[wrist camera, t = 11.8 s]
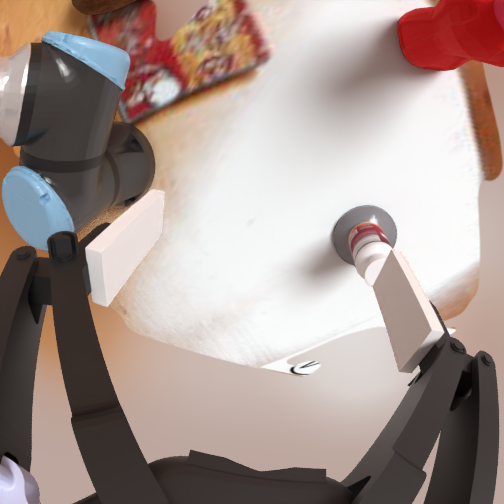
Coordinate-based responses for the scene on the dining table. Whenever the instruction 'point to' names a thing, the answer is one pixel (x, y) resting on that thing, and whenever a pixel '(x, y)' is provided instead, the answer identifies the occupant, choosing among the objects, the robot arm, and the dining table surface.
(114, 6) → the bread
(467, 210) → the dining table surface
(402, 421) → the robot arm
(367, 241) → the pill bottle
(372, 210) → the coaster
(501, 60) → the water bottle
